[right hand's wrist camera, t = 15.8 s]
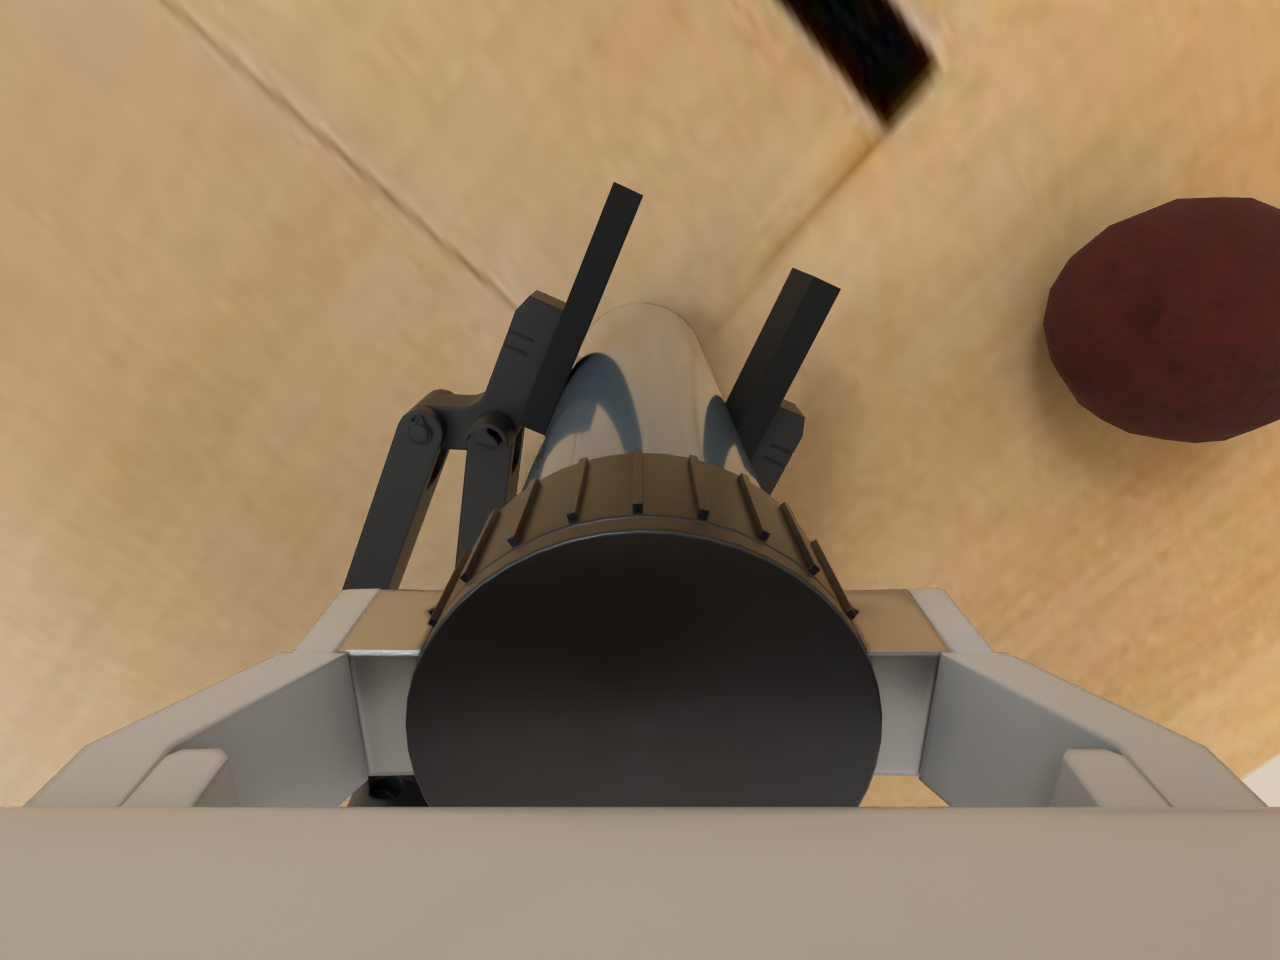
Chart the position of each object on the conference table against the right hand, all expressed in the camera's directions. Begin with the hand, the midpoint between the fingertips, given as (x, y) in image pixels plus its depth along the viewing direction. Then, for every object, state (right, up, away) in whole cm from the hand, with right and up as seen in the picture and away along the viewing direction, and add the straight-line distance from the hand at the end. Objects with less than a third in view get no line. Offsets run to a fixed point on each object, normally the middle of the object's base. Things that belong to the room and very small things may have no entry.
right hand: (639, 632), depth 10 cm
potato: (+17, +8, +16) cm, 25 cm away
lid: (0, -1, -2) cm, 2 cm away
